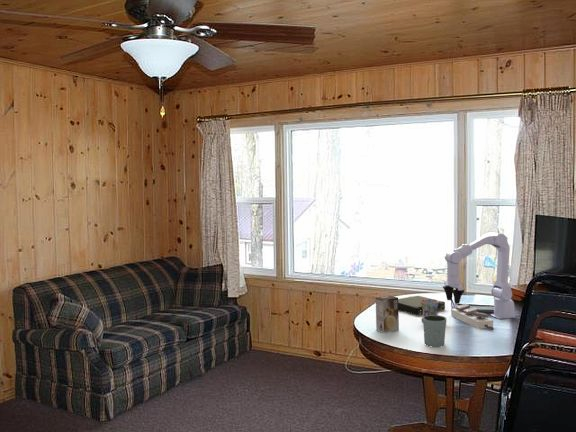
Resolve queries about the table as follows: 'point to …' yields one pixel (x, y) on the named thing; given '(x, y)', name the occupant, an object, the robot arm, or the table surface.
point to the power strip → (473, 319)
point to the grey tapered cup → (434, 330)
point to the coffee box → (387, 314)
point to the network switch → (415, 305)
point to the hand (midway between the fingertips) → (453, 301)
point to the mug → (429, 307)
